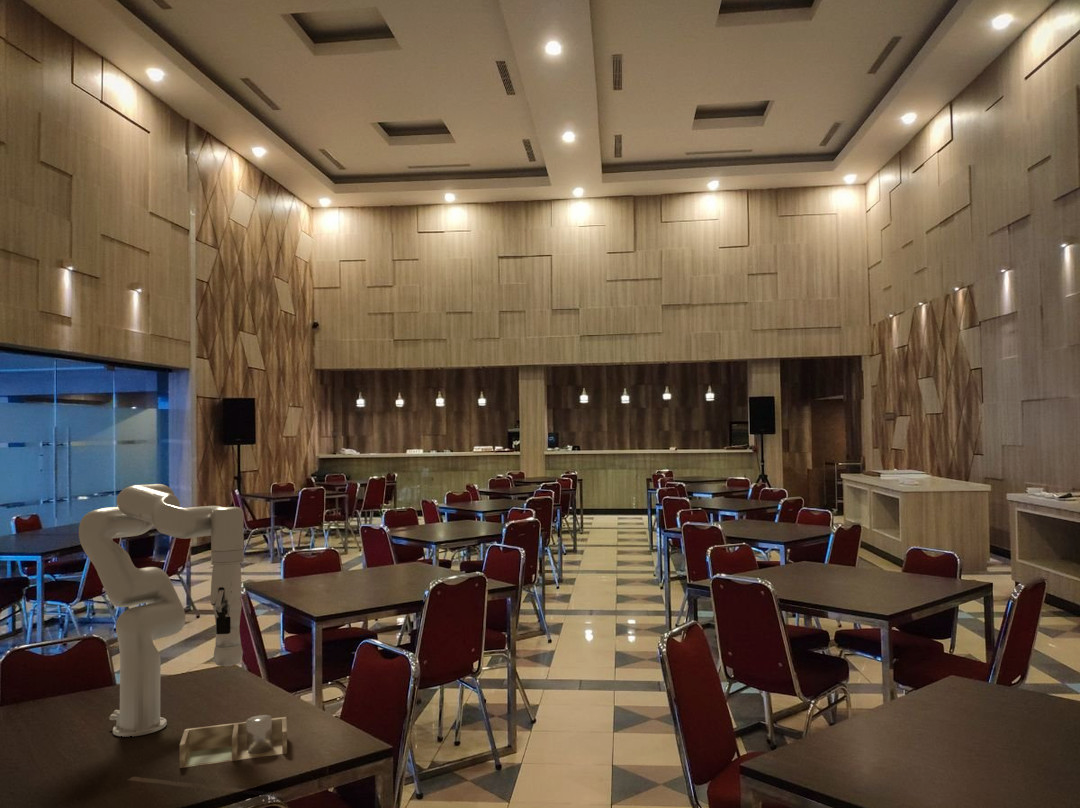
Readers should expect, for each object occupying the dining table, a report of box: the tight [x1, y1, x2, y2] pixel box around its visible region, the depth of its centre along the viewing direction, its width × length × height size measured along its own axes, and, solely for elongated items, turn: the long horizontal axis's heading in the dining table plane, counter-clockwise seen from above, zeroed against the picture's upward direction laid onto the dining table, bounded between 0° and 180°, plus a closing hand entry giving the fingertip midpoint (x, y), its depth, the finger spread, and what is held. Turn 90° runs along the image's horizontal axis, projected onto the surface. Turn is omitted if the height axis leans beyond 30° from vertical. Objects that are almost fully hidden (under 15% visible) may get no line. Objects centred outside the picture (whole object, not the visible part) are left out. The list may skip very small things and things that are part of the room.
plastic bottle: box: [212, 596, 244, 667], centre depth 196 cm, size 6×7×20 cm
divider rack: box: [179, 716, 288, 769], centre depth 187 cm, size 23×11×6 cm, turn 109°
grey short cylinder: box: [245, 714, 273, 754], centre depth 188 cm, size 6×6×7 cm
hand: (227, 630), depth 195 cm, fingers closed on plastic bottle, 6 cm apart
